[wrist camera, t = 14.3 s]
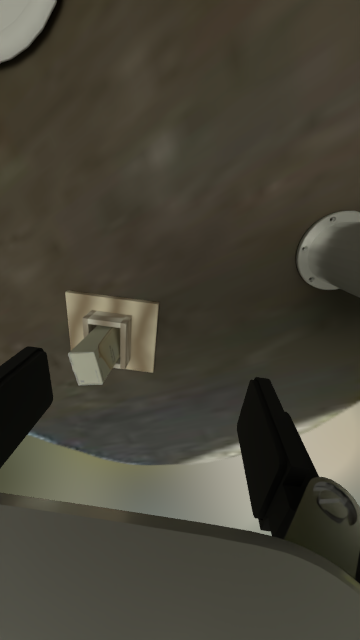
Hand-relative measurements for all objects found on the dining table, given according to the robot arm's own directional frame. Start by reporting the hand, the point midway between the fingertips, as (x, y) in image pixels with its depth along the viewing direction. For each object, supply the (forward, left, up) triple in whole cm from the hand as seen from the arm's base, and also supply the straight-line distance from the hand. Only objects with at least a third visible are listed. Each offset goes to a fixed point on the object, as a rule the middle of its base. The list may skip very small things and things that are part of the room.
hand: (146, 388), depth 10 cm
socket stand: (+13, +16, -33) cm, 39 cm away
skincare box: (+13, +16, -32) cm, 38 cm away
